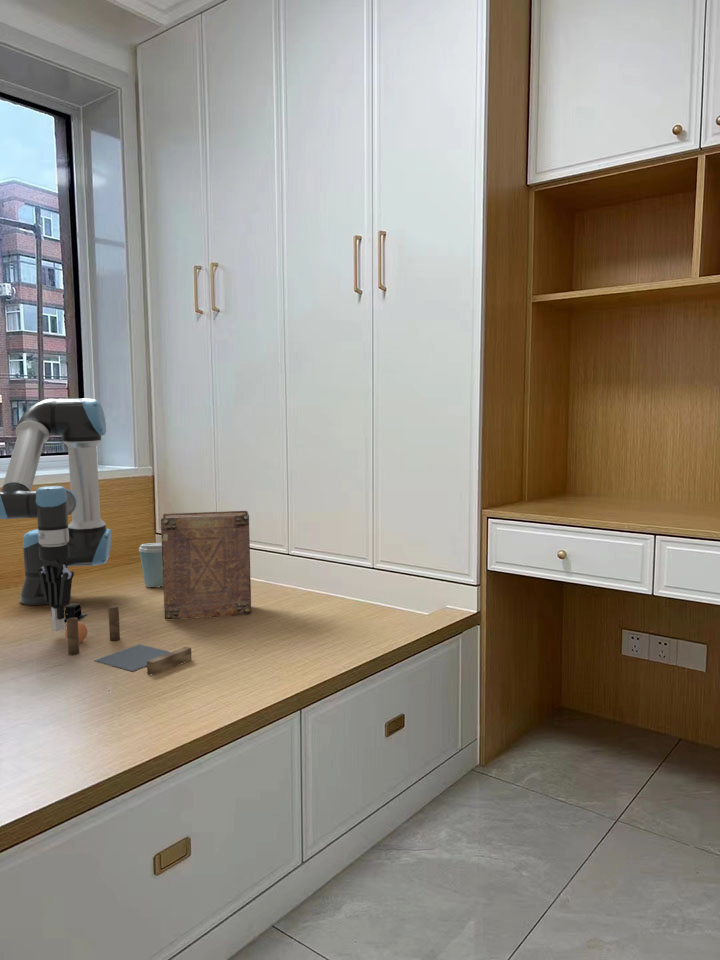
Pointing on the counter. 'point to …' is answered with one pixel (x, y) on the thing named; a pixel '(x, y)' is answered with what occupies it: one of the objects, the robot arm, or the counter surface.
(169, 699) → the counter surface
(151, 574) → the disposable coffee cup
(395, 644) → the counter surface
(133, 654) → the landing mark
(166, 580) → the book
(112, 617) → the inner post
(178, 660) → the stopper wall
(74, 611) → the black boxy device
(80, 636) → the ball
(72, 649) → the outer post
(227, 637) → the counter surface
